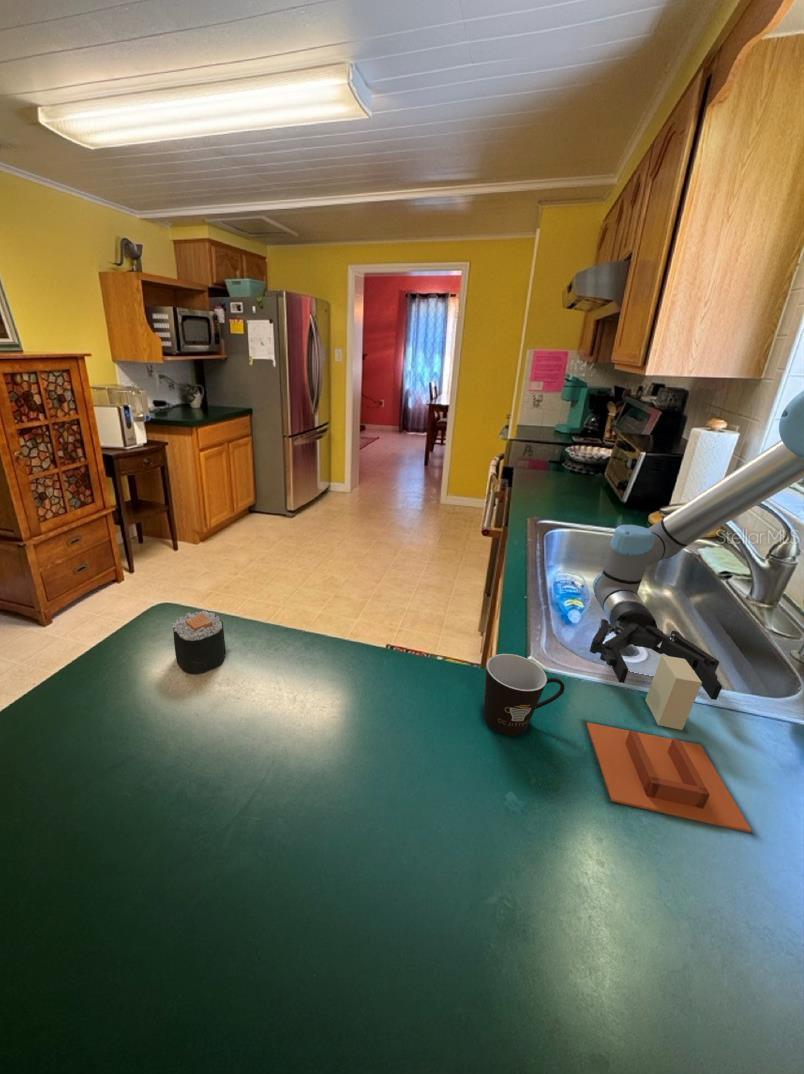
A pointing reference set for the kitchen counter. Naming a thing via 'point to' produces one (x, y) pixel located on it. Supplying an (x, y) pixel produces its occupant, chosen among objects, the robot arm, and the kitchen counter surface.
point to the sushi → (199, 642)
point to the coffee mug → (514, 692)
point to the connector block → (673, 692)
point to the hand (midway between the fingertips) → (669, 684)
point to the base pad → (663, 776)
